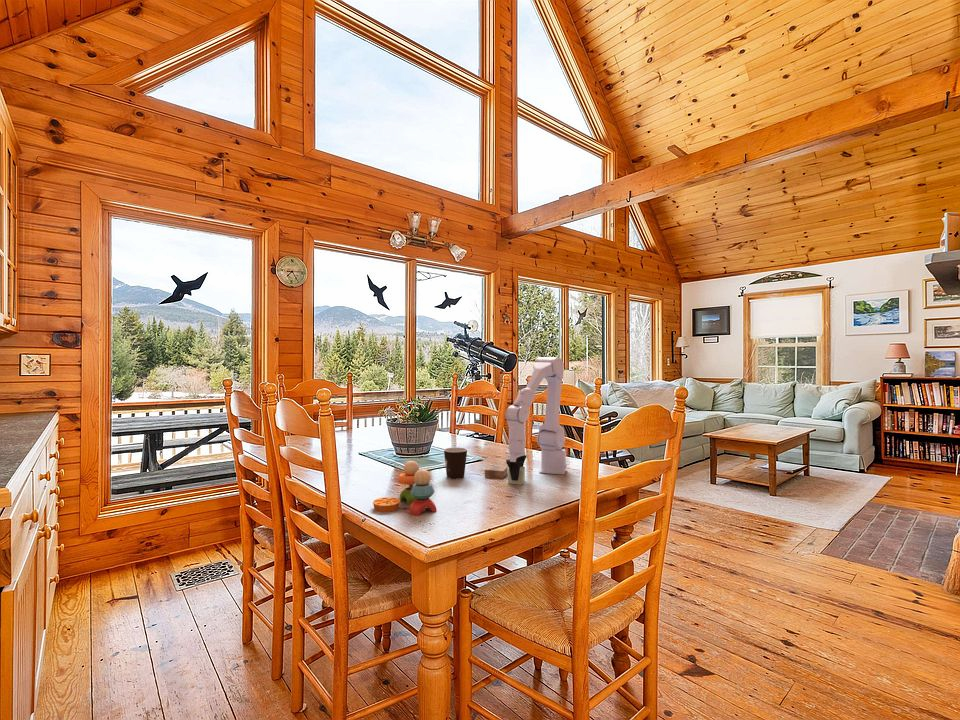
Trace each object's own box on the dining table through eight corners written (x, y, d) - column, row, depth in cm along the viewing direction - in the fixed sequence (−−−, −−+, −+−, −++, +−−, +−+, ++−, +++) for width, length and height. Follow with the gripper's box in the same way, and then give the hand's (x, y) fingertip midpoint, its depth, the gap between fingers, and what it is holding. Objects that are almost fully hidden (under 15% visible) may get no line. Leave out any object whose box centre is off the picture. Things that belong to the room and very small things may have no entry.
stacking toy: (366, 506, 145) (365, 465, 144) (415, 495, 156) (415, 457, 155) (397, 523, 131) (397, 477, 131) (448, 510, 142) (448, 467, 142)
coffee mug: (464, 480, 174) (464, 452, 173) (441, 479, 175) (441, 451, 175) (470, 472, 185) (470, 446, 185) (448, 471, 186) (448, 445, 186)
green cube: (524, 480, 174) (524, 466, 174) (522, 484, 169) (522, 470, 169) (510, 479, 175) (511, 466, 175) (508, 483, 170) (508, 469, 170)
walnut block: (507, 474, 184) (507, 466, 184) (503, 479, 177) (503, 471, 177) (489, 473, 186) (489, 465, 185) (484, 477, 179) (484, 469, 179)
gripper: (509, 435, 180) (509, 472, 180) (501, 442, 166) (501, 482, 166) (528, 436, 178) (528, 473, 178) (521, 443, 164) (521, 483, 164)
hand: (516, 477), depth 172 cm, fingers open, 6 cm apart
